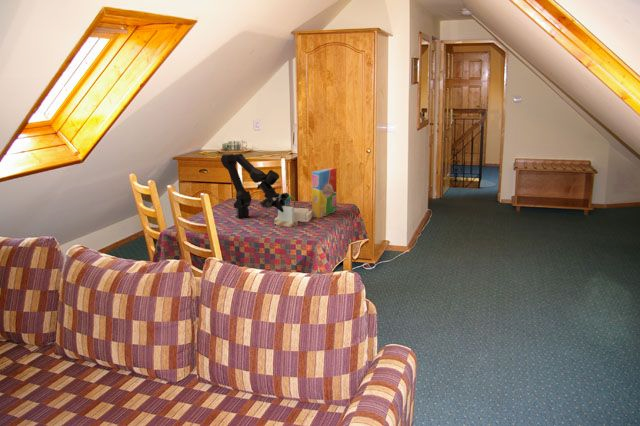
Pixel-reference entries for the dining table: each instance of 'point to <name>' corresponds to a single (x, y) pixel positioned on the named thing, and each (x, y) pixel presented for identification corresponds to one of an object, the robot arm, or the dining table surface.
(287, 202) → the snack cup
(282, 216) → the pale grey tapered slat
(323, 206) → the game box
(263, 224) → the dining table surface
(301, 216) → the rack
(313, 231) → the dining table surface
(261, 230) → the dining table surface
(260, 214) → the dining table surface
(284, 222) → the stand
